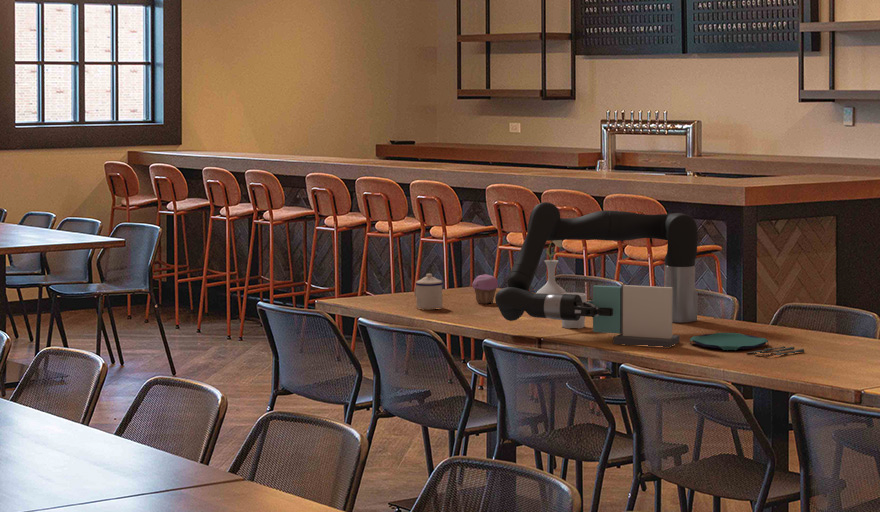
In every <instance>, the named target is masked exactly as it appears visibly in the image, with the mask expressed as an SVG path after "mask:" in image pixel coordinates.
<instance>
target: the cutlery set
mask: <svg viewBox="0 0 880 512" xmlns="http://www.w3.org/2000/svg"><path fill="white" fill-rule="evenodd" d="M691 342H693V343H694V344H696V345H698V346H701V347H706V348H711V349H719V350H720V349H721V350H723V351H724V350H727V351H728V350H735V351H737V350H748V349H750V350H751V349H757V348H760V347H763V346H765V345H766V344H767V345H766V347H765V348H764V349H762V350H761V349H760V350H753V351H748V352H747V353H754V352H760V353H771V352H772V353H773V352H777V353H773V354H776V355H781V354H788V353H795V352H803V353H805V349H804V348H800V349H796V350H795V347H794V346H790V347H786V346H784V345H783V346H781V347H773V348H770V347H769V345H770V344H769V339H767V338H765V337H761V336H760V337H759V336H755V335H750V334H743V333H741V332H738V333H737V332H715V333H709V334H708V333H707V334H701V335H695V336H694V335H693V336H692V337H690V339H689V344H690V345H691V344H692V343H691ZM767 347H768V348H767ZM783 348H785V349H783ZM769 350H772V351H769ZM773 350H775V351H773ZM762 351H768V352H762ZM779 351H781V352H779ZM786 351H787V352H786ZM788 351H790V352H788ZM755 354H757V353H754V354H753V355H754V356H755ZM767 355H769V354H767Z"/></svg>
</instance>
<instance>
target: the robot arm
mask: <svg viewBox="0 0 880 512" xmlns="http://www.w3.org/2000/svg"><path fill="white" fill-rule="evenodd" d="M698 231H699V230H698V224H697V222H696V220H695V219H694V218H693V217H692V216H690V215H688V214H687V213H682V212H672V213H663V214H661V213H660V214H659V213H658V214H645V213H639V212H631V211H624V210H623V211H622V210H598V211H593V212H591V213H587V214H585V215H581V216H578V217H573V218H572V217H570V218H568V217H567V218H566V217H565V218H563V217H562V218H561V212H560V209H559V208H558V207H557V206H556V205H555V204H553V203H551V202H548V201H544V202H540V203H538V204H536V205H535V206H534V207H533V209H532V210H531V212H530V215H529V219H528V222H527V232H526V233H527V234H526V236H525V239H524V241H523V244H522V246H521V248H520V250H519V252H518V254H517V256H516V259H515V260H514V263H513V265H512V267H511V270H510V272H509V274H508V277H507V279H506V280H507V287H504V288H501V289H499V290H498V291H497V292H496V293H495V296H494V301H495V304H496V306H497V308H498V310H499V311H500V313H501V314H500V315H501V316H502V317H503V318H504V319H505V320H506V321H509V322H515V321H517V320H519V319H520V318H521V317H522V316H523V315H524V313H527V314H528V316H530V317H532V318H537V319H539V318H540V319H549V320H558V321H562V320H570V321H578V320H579V319H580V317H581V316H585V317H590V318H593V317H595V316H599V315H600V316H612V315H613V308H604V307H600V308H599V307H596V306H595V304H593V299H591V300H589V299H588V300H586V302H582V299H581V297H580V296H579V295H577V294H540V293H536V292H535V293H534V292H532V291H530V287H531V285H532V282H533V280H534V277H535V276H536V272H537V269H538V267H539V264H540V261H541V258H542V254H543V251H544V248H545V245H546V244H547V242H551V241H555V240H562V241H566V240H582V241H583V240H584V241H585V240H590V241H593V240H595V241H611V242H622V241H632V240H639V239H655V240H661V241H662V240H664V241H667V248H666V249H667V250H666V255H665V257H664V287H673V294H672V323H678V324H679V323H692V322H697V321H698V290H697V289H696V259H697V255H698V237H699V232H698Z"/></svg>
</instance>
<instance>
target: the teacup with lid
mask: <svg viewBox="0 0 880 512" xmlns="http://www.w3.org/2000/svg"><path fill="white" fill-rule="evenodd" d="M415 285H416V286H415V287H414V296H415V298H416V309H417V308H421V309H436V308H441V309H442V308H443V280H441V279H438V278H436V277H435V276H433V273H426V275H425V276H423V277H422V278H421V279H418V280H416V281H415Z"/></svg>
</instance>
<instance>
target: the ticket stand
mask: <svg viewBox="0 0 880 512" xmlns="http://www.w3.org/2000/svg"><path fill="white" fill-rule="evenodd" d="M620 287H621V333H620V334H617V335H615V336H613V341H612V343H613V344H625V345H624V346H626V345H648V346H663V347H670V346H672V345H674V344H676V343H678V342H679V343H680V334H679V335H677V334H673V322H672V294H673V287H665V286H654V285H653V286H651V285H634V284H633V285H632V284H631V285H630V284H623V285H621V286H620ZM679 343H678V344H679ZM676 345H677V344H676Z"/></svg>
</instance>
